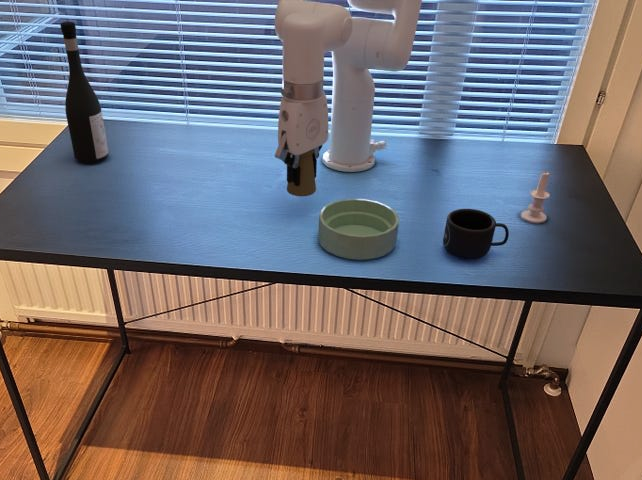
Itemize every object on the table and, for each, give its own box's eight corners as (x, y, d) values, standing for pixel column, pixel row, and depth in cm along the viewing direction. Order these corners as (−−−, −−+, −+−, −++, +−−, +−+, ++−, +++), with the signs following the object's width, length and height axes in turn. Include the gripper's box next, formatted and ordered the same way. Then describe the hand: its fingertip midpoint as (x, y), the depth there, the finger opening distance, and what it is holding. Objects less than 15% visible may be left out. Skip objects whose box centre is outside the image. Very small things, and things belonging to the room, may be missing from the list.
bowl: (366, 217, 139) (369, 192, 135) (411, 250, 129) (414, 224, 125) (304, 233, 133) (304, 208, 130) (345, 269, 123) (347, 243, 119)
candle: (515, 215, 140) (527, 168, 133) (532, 209, 142) (545, 163, 136) (533, 225, 137) (547, 178, 130) (551, 220, 139) (565, 172, 132)
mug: (443, 263, 125) (450, 230, 120) (438, 239, 132) (444, 206, 127) (508, 266, 124) (517, 233, 120) (499, 242, 131) (507, 209, 127)
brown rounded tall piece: (319, 185, 138) (321, 133, 130) (311, 198, 133) (312, 145, 126) (292, 180, 139) (292, 129, 132) (282, 193, 135) (282, 141, 128)
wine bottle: (112, 152, 163) (90, 18, 144) (106, 165, 157) (82, 27, 138) (78, 152, 163) (52, 18, 143) (72, 165, 157) (43, 27, 137)
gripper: (285, 105, 116) (286, 200, 128) (347, 81, 125) (342, 172, 137) (256, 94, 120) (259, 187, 132) (318, 72, 129) (315, 161, 141)
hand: (301, 179), depth 135 cm, fingers closed on brown rounded tall piece, 4 cm apart
